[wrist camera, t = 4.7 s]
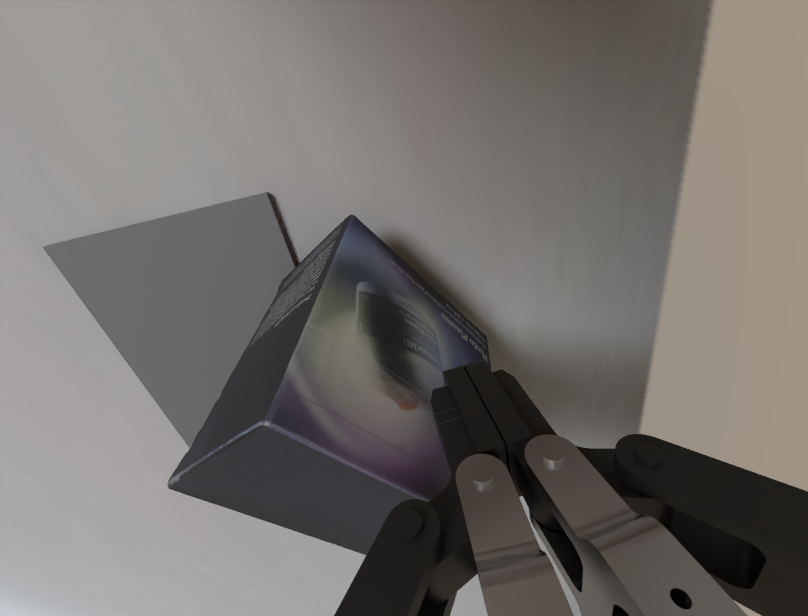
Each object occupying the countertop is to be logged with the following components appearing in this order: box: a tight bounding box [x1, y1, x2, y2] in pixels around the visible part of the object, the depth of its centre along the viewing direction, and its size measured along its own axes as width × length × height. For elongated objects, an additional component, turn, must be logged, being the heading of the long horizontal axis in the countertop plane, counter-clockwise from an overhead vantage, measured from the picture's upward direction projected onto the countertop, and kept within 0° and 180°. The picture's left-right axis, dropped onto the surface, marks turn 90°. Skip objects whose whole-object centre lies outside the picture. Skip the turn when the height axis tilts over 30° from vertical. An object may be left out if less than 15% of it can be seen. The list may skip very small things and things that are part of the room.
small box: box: [167, 215, 491, 555], centre depth 15 cm, size 11×6×10 cm, turn 46°
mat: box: [43, 192, 296, 448], centre depth 19 cm, size 14×10×1 cm
